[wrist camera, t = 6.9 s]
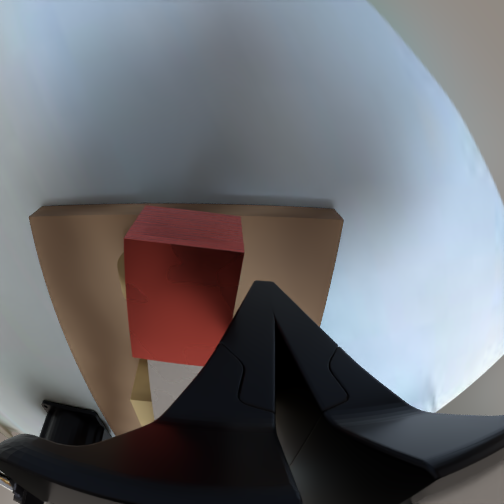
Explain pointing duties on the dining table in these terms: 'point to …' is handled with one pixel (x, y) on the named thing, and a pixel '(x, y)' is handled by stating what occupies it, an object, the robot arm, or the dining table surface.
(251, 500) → the robot arm
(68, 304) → the valve board
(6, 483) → the food plate
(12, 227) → the dining table surface
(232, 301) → the lever
